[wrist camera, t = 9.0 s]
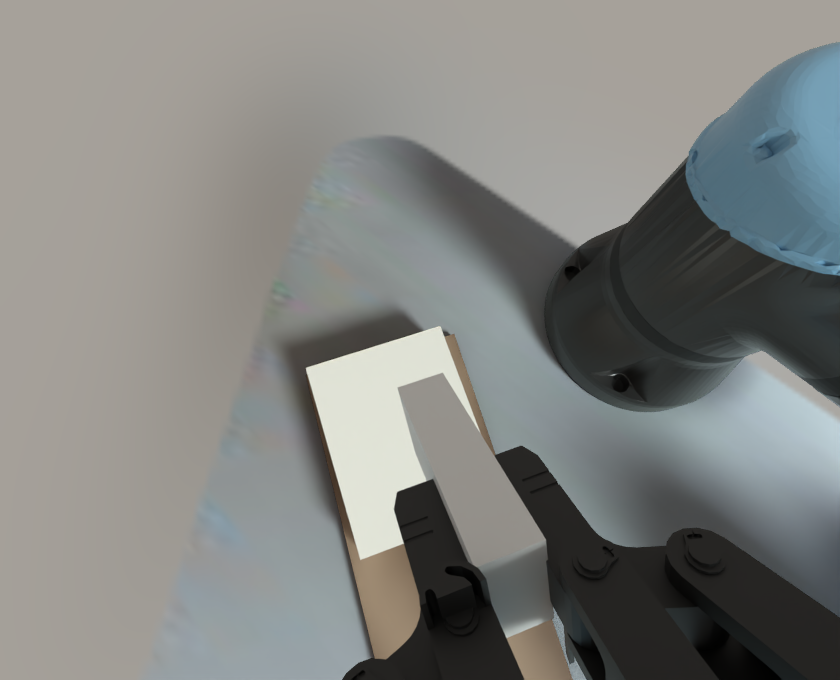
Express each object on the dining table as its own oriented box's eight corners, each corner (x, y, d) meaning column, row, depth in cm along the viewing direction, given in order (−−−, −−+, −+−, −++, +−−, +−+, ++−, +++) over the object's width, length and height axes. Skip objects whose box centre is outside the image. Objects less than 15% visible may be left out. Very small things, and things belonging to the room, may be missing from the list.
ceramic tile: (507, 504, 31) (440, 325, 35) (360, 560, 30) (305, 367, 33) (496, 502, 34) (436, 339, 38) (363, 553, 33) (313, 378, 36)
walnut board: (452, 337, 39) (454, 334, 38) (569, 677, 32) (573, 681, 31) (307, 377, 37) (305, 375, 36) (397, 745, 30) (397, 752, 30)
